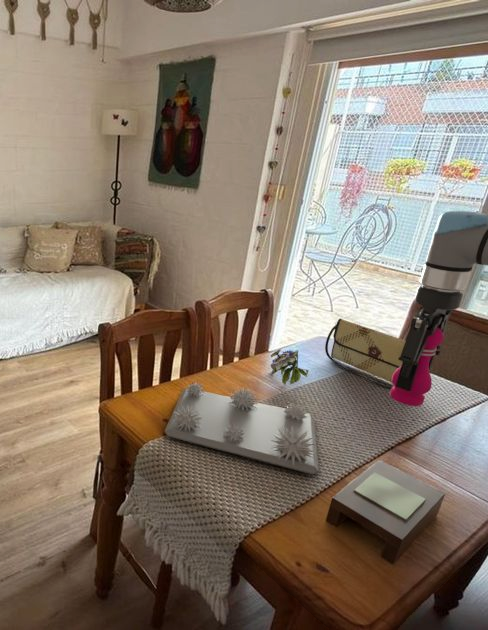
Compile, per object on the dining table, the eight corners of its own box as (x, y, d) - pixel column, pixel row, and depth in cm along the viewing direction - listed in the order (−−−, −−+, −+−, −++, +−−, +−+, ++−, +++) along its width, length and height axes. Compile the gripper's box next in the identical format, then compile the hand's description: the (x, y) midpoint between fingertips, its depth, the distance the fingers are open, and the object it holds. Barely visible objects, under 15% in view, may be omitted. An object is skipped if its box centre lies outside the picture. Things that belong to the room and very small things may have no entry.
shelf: (436, 516, 89) (446, 492, 87) (393, 564, 79) (402, 539, 76) (372, 481, 98) (379, 458, 96) (325, 520, 88) (332, 496, 86)
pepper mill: (383, 399, 101) (407, 318, 94) (390, 387, 106) (412, 310, 99) (423, 411, 96) (450, 327, 89) (427, 398, 101) (454, 318, 94)
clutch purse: (317, 359, 155) (326, 319, 150) (329, 355, 158) (339, 316, 153) (409, 399, 130) (424, 353, 125) (422, 393, 133) (437, 349, 128)
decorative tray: (312, 422, 119) (320, 390, 116) (317, 484, 97) (326, 447, 94) (183, 393, 133) (186, 364, 130) (162, 441, 112) (165, 408, 108)
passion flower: (270, 388, 147) (268, 352, 150) (307, 388, 143) (304, 352, 146) (271, 383, 137) (269, 346, 140) (311, 384, 133) (307, 345, 136)
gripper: (439, 276, 100) (411, 366, 108) (398, 290, 89) (371, 388, 98) (481, 284, 94) (448, 378, 102) (443, 300, 83) (410, 404, 92)
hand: (410, 383), depth 100 cm, fingers closed on pepper mill, 7 cm apart
